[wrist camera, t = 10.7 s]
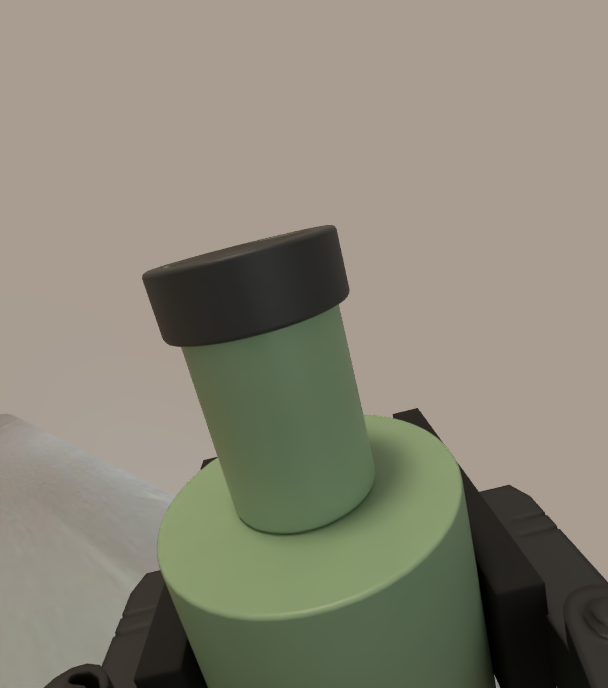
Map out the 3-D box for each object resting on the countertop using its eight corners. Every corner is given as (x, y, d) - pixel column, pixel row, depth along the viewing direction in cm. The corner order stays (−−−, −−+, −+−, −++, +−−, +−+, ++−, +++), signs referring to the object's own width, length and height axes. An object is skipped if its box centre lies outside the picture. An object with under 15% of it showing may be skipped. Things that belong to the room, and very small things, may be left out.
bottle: (515, 794, 12) (420, 199, 8) (568, 1157, 8) (411, 221, 3) (340, 766, 14) (179, 257, 9) (297, 1054, 9) (-52, 326, 5)
